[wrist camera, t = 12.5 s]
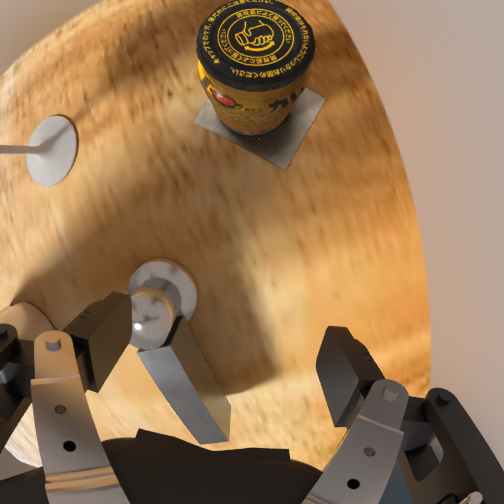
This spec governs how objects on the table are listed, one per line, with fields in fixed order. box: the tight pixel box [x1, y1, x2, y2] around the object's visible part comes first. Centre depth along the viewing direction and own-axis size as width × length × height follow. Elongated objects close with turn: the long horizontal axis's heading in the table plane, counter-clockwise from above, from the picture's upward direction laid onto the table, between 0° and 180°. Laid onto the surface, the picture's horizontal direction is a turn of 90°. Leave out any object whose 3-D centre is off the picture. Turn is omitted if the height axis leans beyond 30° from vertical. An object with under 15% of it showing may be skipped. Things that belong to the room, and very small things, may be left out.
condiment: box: [194, 0, 326, 170], centre depth 15 cm, size 7×8×12 cm
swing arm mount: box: [128, 258, 198, 321], centre depth 24 cm, size 6×6×1 cm
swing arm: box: [129, 277, 231, 445], centre depth 22 cm, size 16×4×5 cm, turn 18°
